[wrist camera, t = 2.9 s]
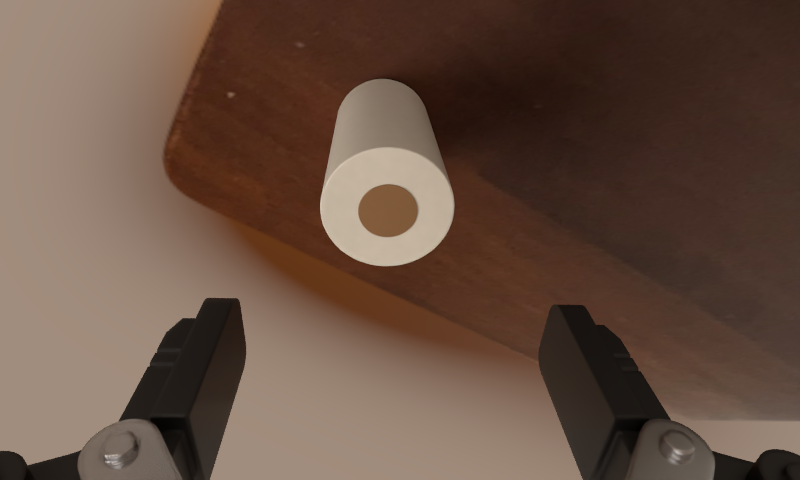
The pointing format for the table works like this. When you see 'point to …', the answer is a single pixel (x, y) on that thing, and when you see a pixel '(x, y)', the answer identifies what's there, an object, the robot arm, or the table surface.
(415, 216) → the paper roll
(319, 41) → the table surface
